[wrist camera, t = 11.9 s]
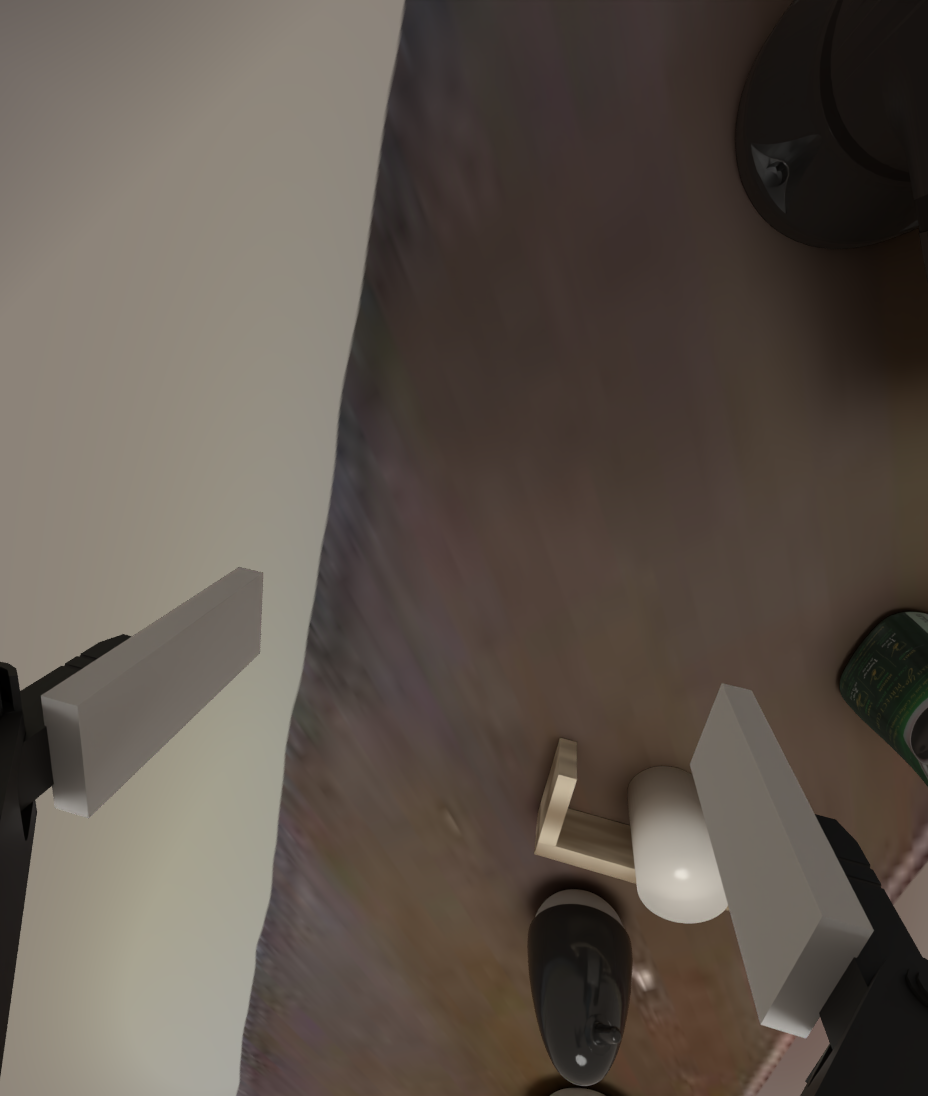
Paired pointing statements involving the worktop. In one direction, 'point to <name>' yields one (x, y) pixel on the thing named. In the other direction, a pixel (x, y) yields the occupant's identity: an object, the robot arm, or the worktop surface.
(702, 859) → the white domed cylinder
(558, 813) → the rest cradle
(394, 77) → the worktop surface
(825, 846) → the robot arm
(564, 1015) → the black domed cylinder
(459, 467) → the worktop surface
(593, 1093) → the paper bowls
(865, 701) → the coffee jar
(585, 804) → the worktop surface
